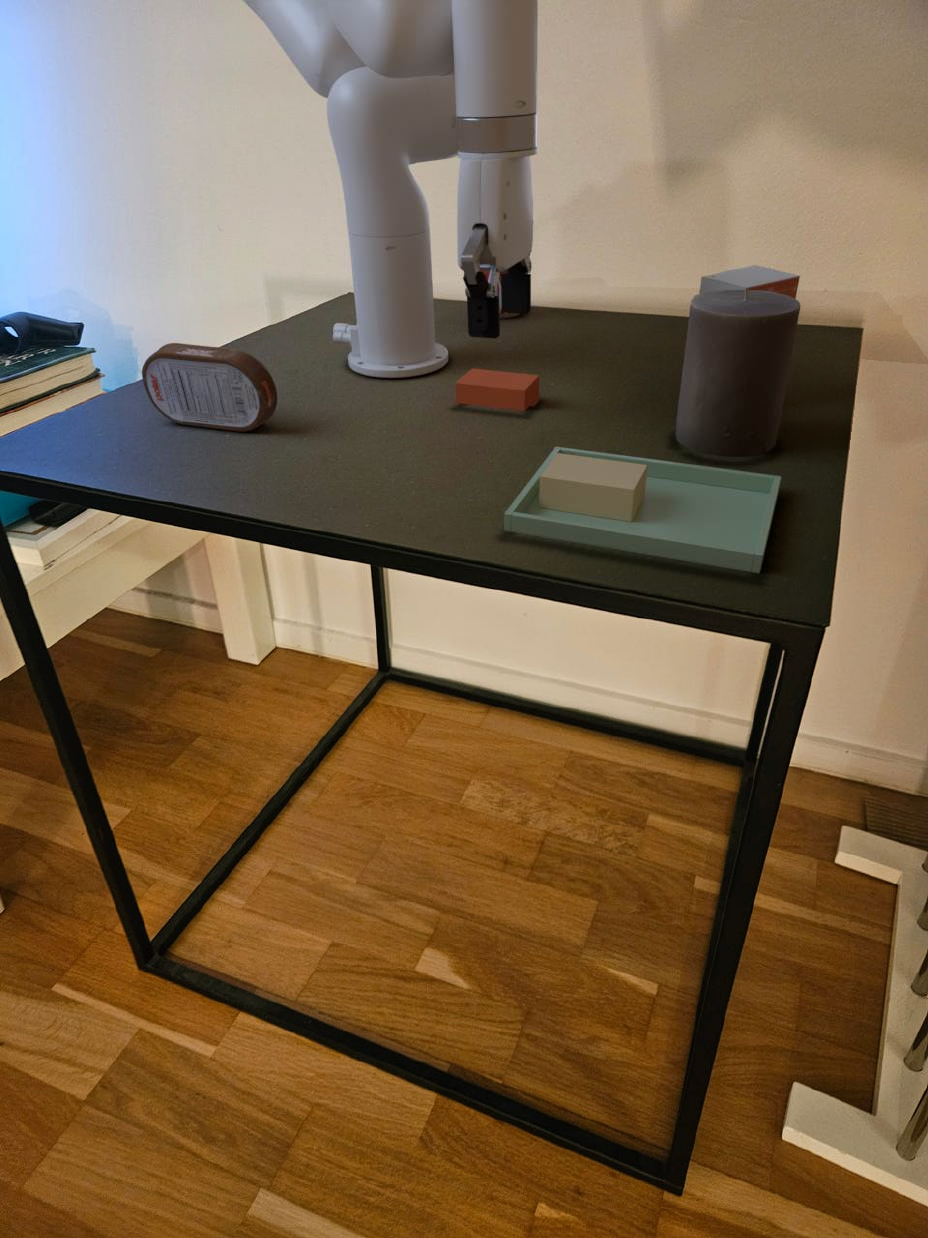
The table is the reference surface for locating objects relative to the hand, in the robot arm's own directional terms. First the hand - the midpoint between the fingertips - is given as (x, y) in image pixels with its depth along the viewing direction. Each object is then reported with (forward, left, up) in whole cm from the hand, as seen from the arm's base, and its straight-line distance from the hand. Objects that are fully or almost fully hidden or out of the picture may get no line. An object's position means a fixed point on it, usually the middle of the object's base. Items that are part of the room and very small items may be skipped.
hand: (500, 323), depth 90 cm
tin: (-28, -15, -9) cm, 33 cm away
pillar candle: (+24, -3, -9) cm, 26 cm away
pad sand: (+16, -21, -8) cm, 27 cm away
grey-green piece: (+20, -21, -9) cm, 31 cm away
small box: (+23, +10, -9) cm, 27 cm away
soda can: (-13, +35, -9) cm, 39 cm away
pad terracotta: (-1, 0, -9) cm, 9 cm away
